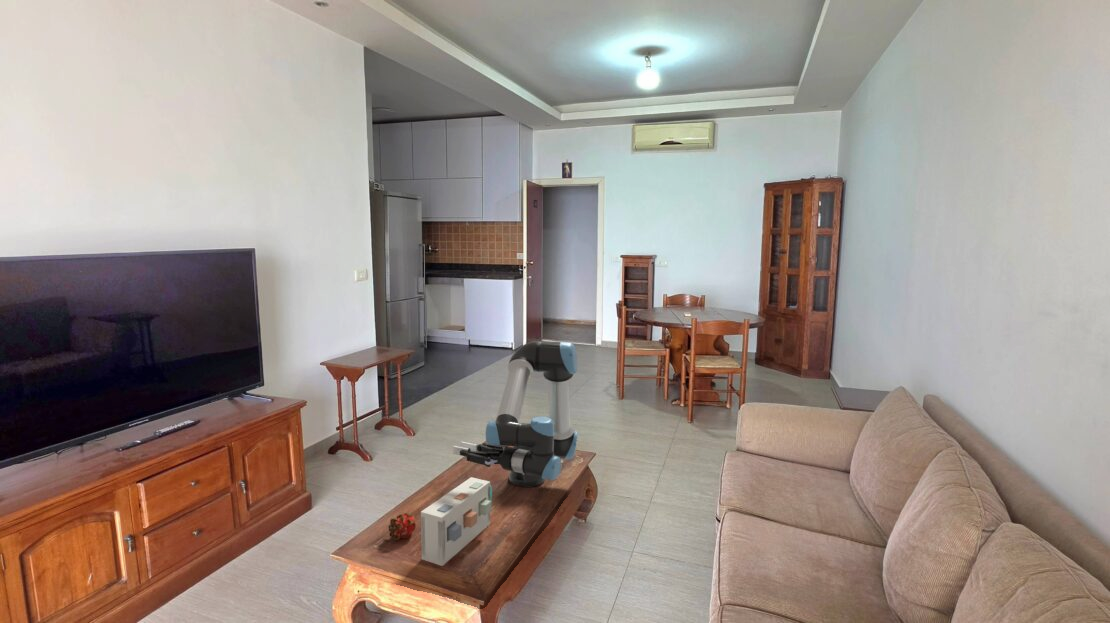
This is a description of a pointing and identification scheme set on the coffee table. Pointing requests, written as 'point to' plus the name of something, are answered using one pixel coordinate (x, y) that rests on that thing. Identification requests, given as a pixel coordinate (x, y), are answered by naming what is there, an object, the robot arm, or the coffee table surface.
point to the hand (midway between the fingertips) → (457, 447)
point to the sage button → (484, 507)
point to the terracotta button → (469, 519)
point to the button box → (452, 520)
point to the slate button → (454, 531)
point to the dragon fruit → (402, 526)
